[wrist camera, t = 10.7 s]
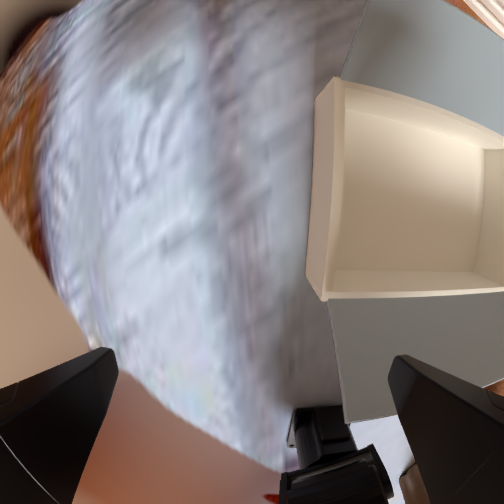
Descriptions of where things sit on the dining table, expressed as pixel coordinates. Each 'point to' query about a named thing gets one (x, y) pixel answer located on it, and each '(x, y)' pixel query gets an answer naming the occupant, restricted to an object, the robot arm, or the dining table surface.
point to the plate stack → (490, 13)
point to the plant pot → (413, 487)
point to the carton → (402, 198)
